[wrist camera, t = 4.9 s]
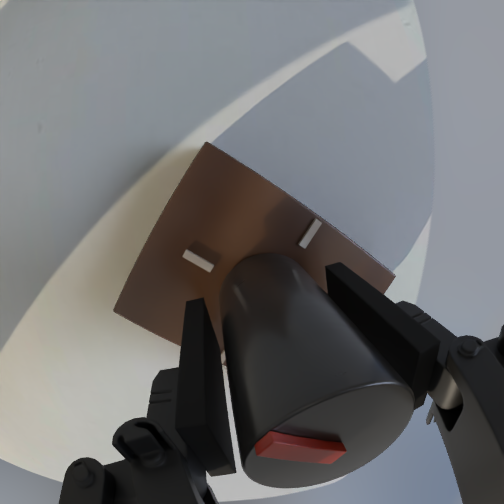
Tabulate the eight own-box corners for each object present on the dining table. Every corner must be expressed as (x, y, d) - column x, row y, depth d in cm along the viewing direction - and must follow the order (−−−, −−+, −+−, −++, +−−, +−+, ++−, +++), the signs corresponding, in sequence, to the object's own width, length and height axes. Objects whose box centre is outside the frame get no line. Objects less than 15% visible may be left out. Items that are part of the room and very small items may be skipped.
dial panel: (370, 259, 17) (398, 277, 14) (290, 365, 18) (303, 395, 15) (206, 146, 14) (205, 140, 11) (126, 287, 15) (111, 313, 12)
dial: (327, 280, 13) (446, 403, 5) (276, 348, 14) (336, 495, 6) (252, 234, 12) (343, 369, 4) (201, 313, 13) (207, 489, 4)
